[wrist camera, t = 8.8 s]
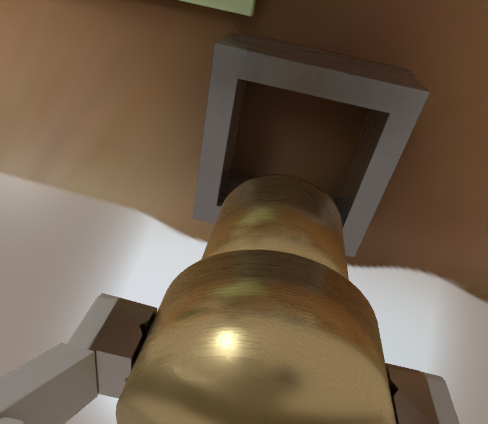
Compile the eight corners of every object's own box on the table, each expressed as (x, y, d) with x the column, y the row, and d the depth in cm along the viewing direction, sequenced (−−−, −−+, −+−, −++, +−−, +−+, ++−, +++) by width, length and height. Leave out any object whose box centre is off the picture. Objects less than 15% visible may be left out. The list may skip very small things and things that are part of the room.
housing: (209, 183, 27) (192, 218, 23) (232, 30, 21) (214, 43, 17) (348, 216, 26) (354, 257, 22) (409, 70, 21) (429, 92, 17)
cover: (195, 267, 16) (117, 472, 10) (214, 141, 13) (113, 325, 6) (330, 299, 16) (343, 529, 10) (384, 181, 13) (461, 410, 6)
